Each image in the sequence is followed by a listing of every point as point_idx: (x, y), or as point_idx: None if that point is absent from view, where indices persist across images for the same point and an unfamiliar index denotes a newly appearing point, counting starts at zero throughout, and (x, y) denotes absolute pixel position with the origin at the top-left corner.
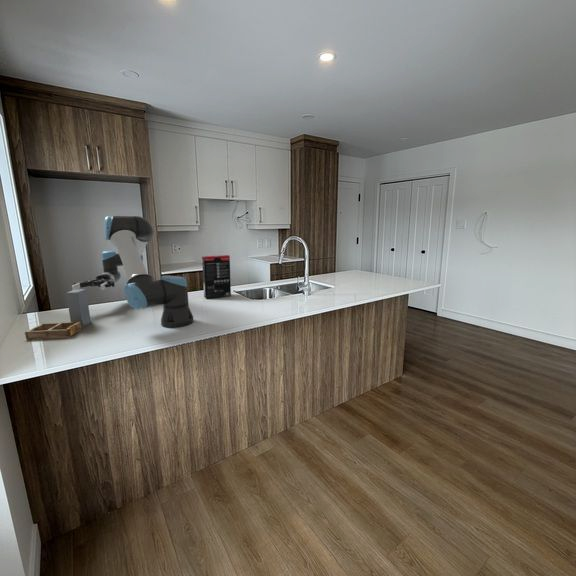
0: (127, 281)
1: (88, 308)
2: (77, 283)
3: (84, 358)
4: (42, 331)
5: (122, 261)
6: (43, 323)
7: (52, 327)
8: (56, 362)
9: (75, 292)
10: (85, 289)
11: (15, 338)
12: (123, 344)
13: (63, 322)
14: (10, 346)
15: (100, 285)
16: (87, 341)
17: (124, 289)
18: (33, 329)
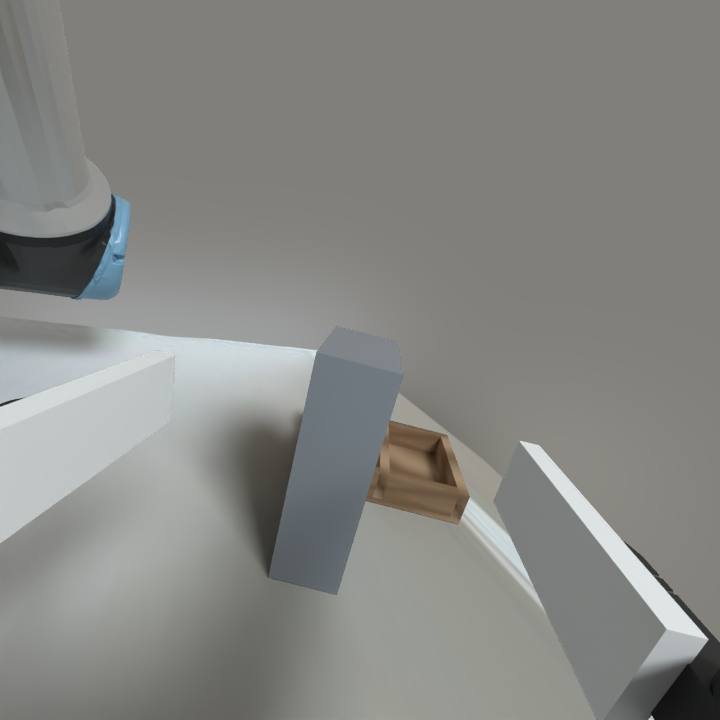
0: (109, 189)
1: (287, 493)
2: (673, 600)
3: (259, 348)
4: (396, 422)
5: (65, 42)
6: (463, 494)
7: (386, 437)
8: (300, 355)
9: (348, 329)
10: (317, 352)
11: (487, 480)
12: (181, 352)
13: (378, 472)
14: (441, 433)
15: (174, 362)
16: (260, 388)
17: (128, 230)
18: (444, 450)
